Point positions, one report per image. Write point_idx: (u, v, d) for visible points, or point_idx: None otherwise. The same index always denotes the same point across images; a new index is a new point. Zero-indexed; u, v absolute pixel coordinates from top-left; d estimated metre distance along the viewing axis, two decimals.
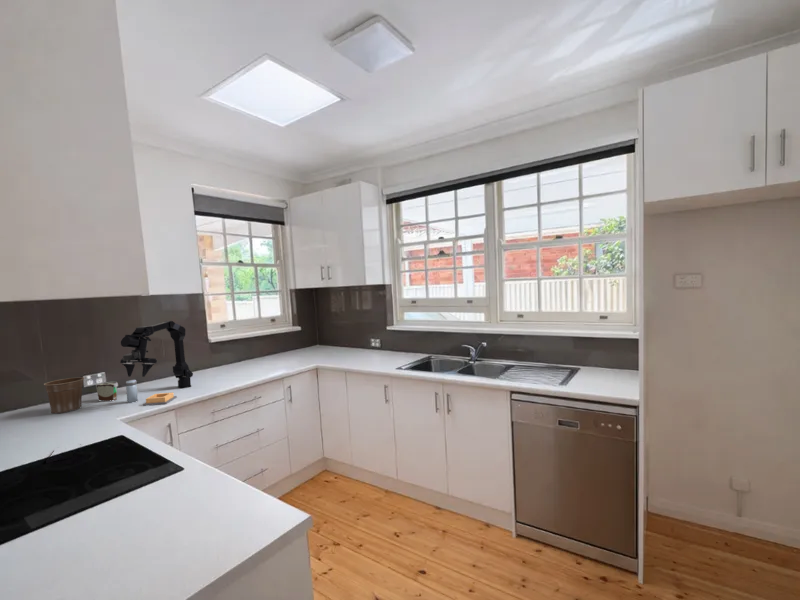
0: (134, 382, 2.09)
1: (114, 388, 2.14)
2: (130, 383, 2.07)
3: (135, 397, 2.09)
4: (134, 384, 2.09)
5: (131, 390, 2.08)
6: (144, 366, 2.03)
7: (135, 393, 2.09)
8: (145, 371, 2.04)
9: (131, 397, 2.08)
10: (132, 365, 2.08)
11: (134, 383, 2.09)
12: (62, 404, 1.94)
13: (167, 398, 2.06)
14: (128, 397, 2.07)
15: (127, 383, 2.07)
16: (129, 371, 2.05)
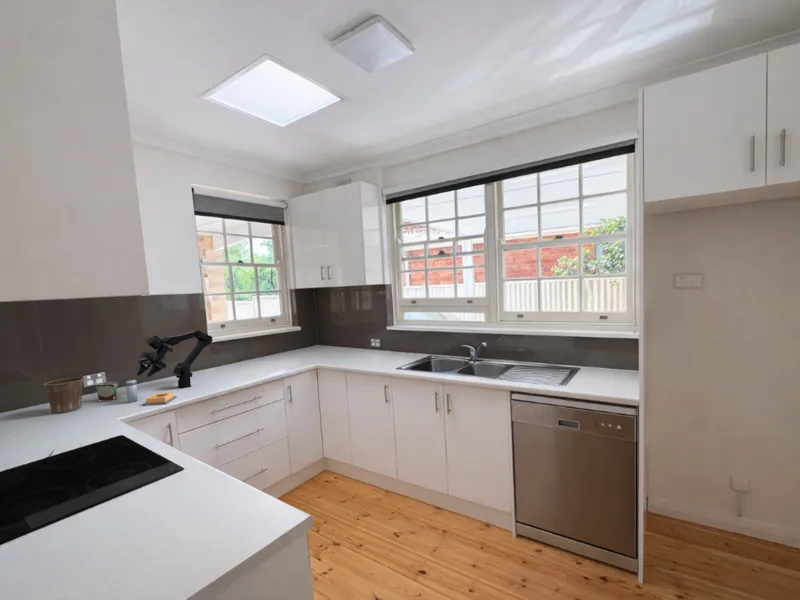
0: (134, 382, 2.09)
1: (114, 388, 2.14)
2: (130, 383, 2.07)
3: (135, 397, 2.09)
4: (134, 384, 2.09)
5: (131, 390, 2.08)
6: (153, 367, 2.15)
7: (135, 393, 2.09)
8: (151, 372, 2.14)
9: (131, 397, 2.08)
10: (146, 367, 2.22)
11: (134, 383, 2.09)
12: (62, 404, 1.94)
13: (167, 398, 2.06)
14: (128, 397, 2.07)
15: (127, 383, 2.07)
16: (140, 371, 2.18)
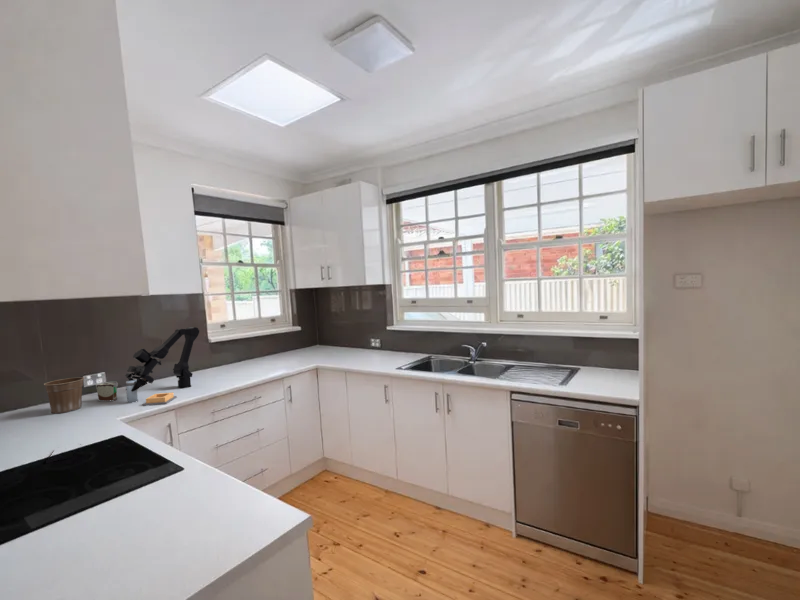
0: (134, 382, 2.09)
1: (114, 388, 2.14)
2: (130, 383, 2.07)
3: (135, 397, 2.09)
4: (134, 384, 2.09)
5: None
6: (137, 381, 2.09)
7: (135, 393, 2.09)
8: (136, 386, 2.09)
9: (131, 397, 2.08)
10: None
11: (134, 383, 2.09)
12: (62, 404, 1.94)
13: (167, 398, 2.06)
14: (128, 397, 2.07)
15: (127, 383, 2.07)
16: None
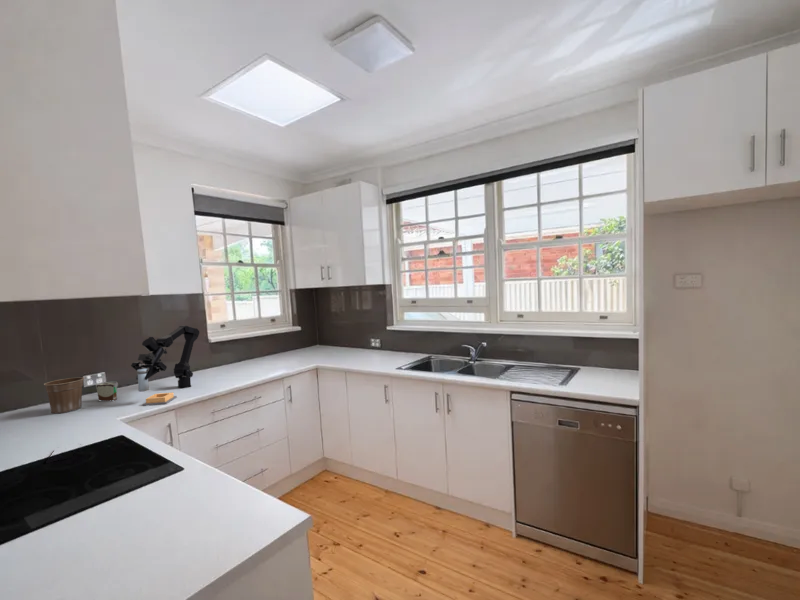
0: (146, 370, 2.07)
1: (114, 388, 2.14)
2: (143, 371, 2.05)
3: (147, 385, 2.07)
4: (146, 372, 2.07)
5: (144, 378, 2.05)
6: (150, 369, 2.07)
7: (147, 381, 2.07)
8: (149, 374, 2.07)
9: (144, 385, 2.05)
10: None
11: (146, 371, 2.07)
12: (62, 404, 1.94)
13: (167, 398, 2.06)
14: (141, 385, 2.05)
15: (140, 371, 2.04)
16: None
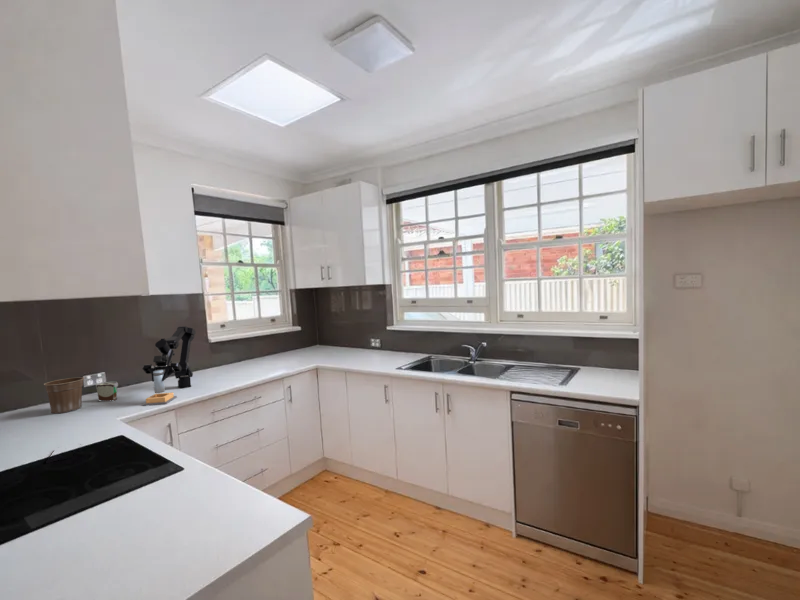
0: (163, 371, 2.08)
1: (114, 388, 2.14)
2: (160, 372, 2.06)
3: (164, 387, 2.08)
4: (163, 373, 2.08)
5: (161, 380, 2.06)
6: (167, 370, 2.09)
7: None
8: (166, 376, 2.08)
9: (161, 387, 2.06)
10: None
11: (163, 372, 2.08)
12: (62, 404, 1.94)
13: (167, 398, 2.06)
14: (158, 387, 2.05)
15: (157, 373, 2.05)
16: None
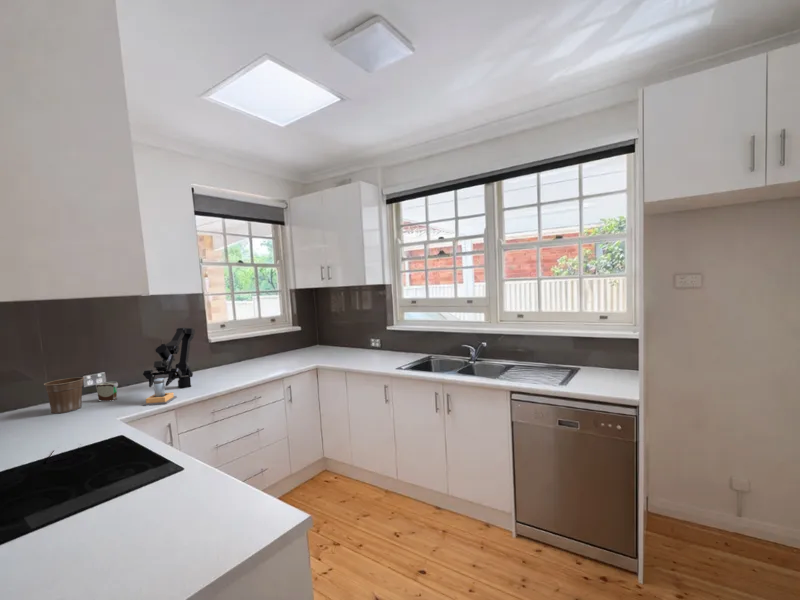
0: (163, 379, 2.08)
1: (114, 388, 2.14)
2: (161, 380, 2.06)
3: (164, 394, 2.08)
4: (163, 381, 2.08)
5: (162, 388, 2.06)
6: (170, 375, 2.09)
7: (164, 390, 2.08)
8: (169, 381, 2.08)
9: (162, 395, 2.06)
10: (153, 378, 2.10)
11: (163, 380, 2.08)
12: (62, 404, 1.94)
13: (167, 398, 2.06)
14: (159, 395, 2.05)
15: (157, 381, 2.05)
16: (151, 382, 2.07)
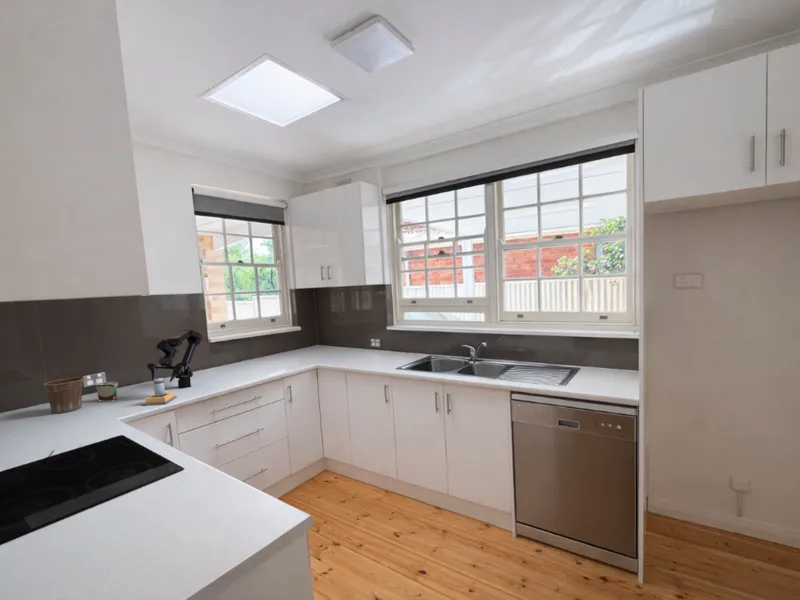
0: (163, 379, 2.08)
1: (114, 388, 2.14)
2: (161, 380, 2.06)
3: (164, 394, 2.08)
4: (163, 381, 2.08)
5: (162, 388, 2.06)
6: (175, 372, 2.18)
7: (164, 390, 2.08)
8: (173, 377, 2.18)
9: (162, 395, 2.06)
10: (155, 371, 2.18)
11: (163, 380, 2.08)
12: (62, 404, 1.94)
13: (167, 398, 2.06)
14: (159, 395, 2.05)
15: (157, 381, 2.05)
16: (153, 376, 2.15)
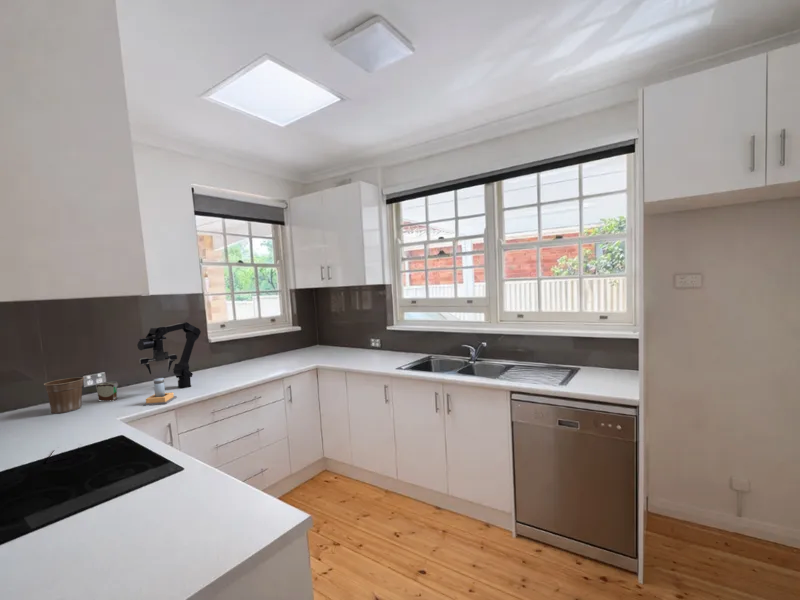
0: (163, 379, 2.08)
1: (114, 388, 2.14)
2: (161, 380, 2.06)
3: (164, 394, 2.08)
4: (163, 381, 2.08)
5: (162, 388, 2.06)
6: (171, 362, 2.26)
7: (164, 390, 2.08)
8: (170, 366, 2.27)
9: (162, 395, 2.06)
10: None
11: (163, 380, 2.08)
12: (62, 404, 1.94)
13: (167, 398, 2.06)
14: (159, 395, 2.05)
15: (157, 381, 2.05)
16: None
